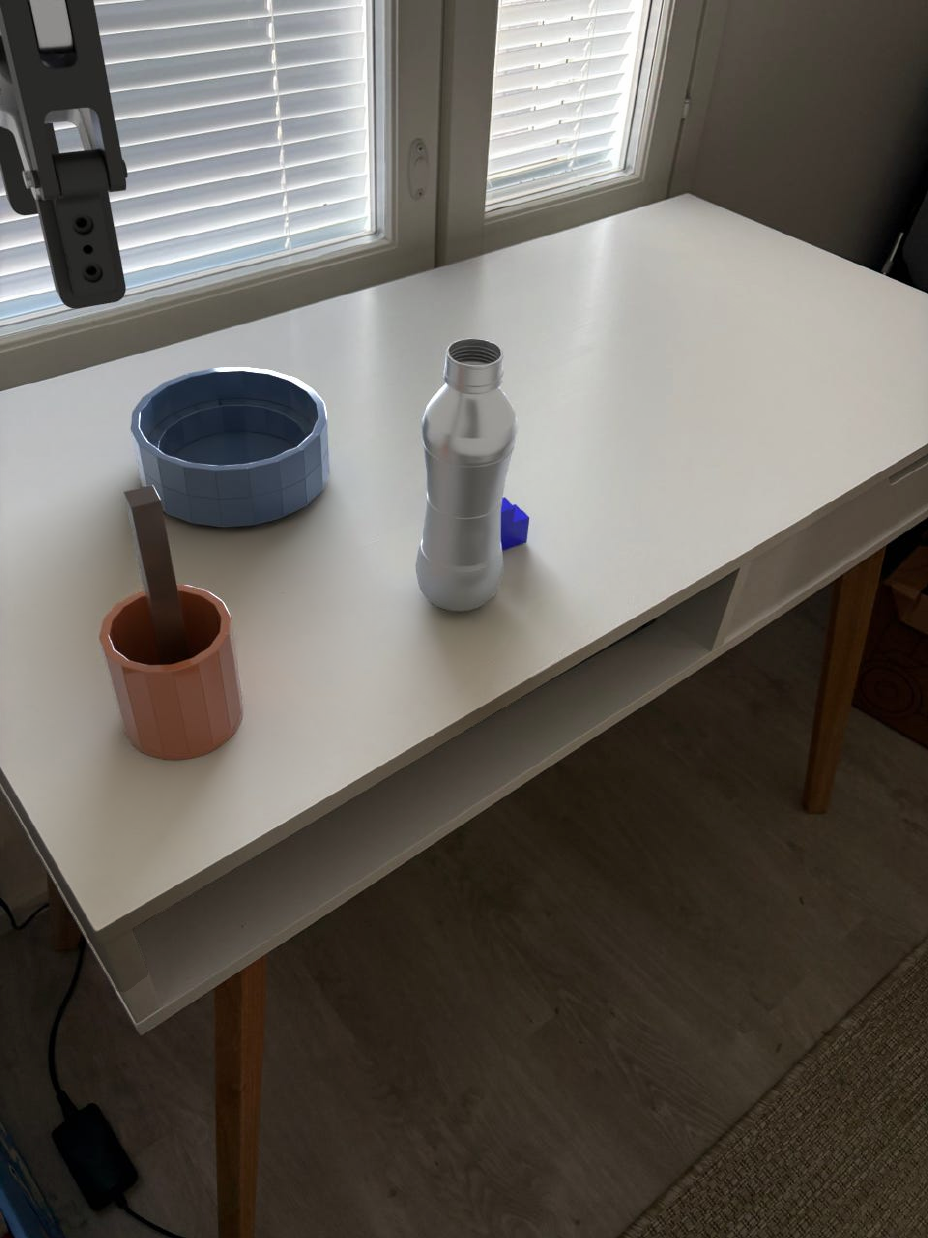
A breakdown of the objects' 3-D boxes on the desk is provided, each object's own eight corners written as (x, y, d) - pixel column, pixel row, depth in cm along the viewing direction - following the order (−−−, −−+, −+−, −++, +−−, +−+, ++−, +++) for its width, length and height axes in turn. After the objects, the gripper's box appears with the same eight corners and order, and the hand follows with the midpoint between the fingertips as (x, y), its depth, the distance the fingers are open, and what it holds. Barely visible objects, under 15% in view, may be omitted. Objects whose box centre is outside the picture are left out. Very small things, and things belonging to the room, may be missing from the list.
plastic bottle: (400, 607, 75) (404, 363, 61) (436, 555, 79) (448, 318, 66) (480, 633, 73) (503, 389, 60) (513, 578, 78) (541, 340, 64)
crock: (141, 776, 62) (118, 688, 57) (110, 694, 67) (86, 605, 62) (259, 735, 65) (248, 647, 60) (221, 659, 70) (207, 571, 64)
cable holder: (526, 542, 81) (531, 502, 79) (489, 554, 80) (493, 514, 77) (474, 489, 86) (477, 450, 83) (439, 500, 85) (441, 460, 82)
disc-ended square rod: (160, 743, 63) (111, 529, 52) (141, 696, 66) (90, 483, 55) (228, 720, 65) (195, 508, 54) (206, 675, 68) (170, 464, 56)
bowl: (174, 553, 78) (163, 489, 74) (121, 450, 87) (109, 388, 83) (357, 503, 84) (356, 442, 80) (289, 412, 93) (285, 353, 89)
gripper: (-240, -364, 30) (-71, 197, 41) (-212, -354, 21) (-6, 359, 32) (27, -345, 32) (117, 174, 44) (152, -330, 24) (225, 317, 35)
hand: (65, 252), depth 38 cm, fingers open, 8 cm apart
